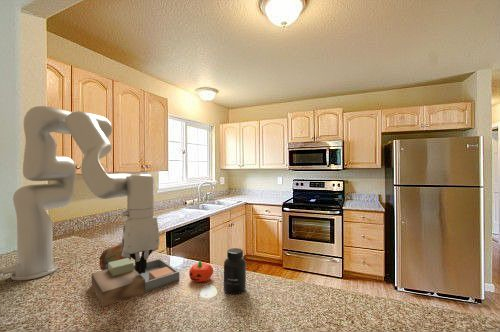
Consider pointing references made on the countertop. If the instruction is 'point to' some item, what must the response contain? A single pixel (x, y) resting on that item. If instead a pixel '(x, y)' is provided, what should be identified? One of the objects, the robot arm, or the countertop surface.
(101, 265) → the tin
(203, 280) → the pumpkin
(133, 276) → the tan slab
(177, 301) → the countertop surface
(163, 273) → the tile
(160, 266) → the box
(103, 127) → the robot arm
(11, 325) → the countertop surface
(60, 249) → the countertop surface
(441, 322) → the countertop surface
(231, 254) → the supplement bottle
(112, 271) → the tile
